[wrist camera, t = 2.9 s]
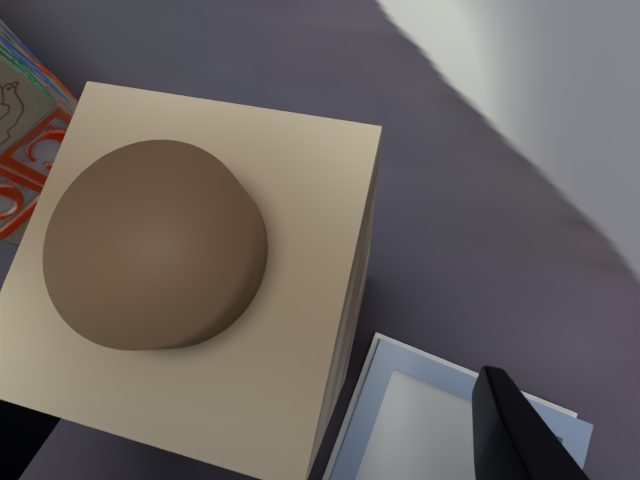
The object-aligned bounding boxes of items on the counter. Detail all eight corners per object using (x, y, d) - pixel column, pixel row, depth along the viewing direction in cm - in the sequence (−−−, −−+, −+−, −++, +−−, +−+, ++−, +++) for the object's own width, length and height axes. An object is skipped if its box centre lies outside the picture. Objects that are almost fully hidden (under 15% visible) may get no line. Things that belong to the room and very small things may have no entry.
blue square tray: (507, 626, 14) (538, 686, 12) (306, 522, 16) (296, 556, 13) (564, 408, 16) (600, 421, 13) (375, 332, 17) (377, 331, 15)
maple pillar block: (346, 376, 17) (290, 526, 3) (248, 351, 17) (-114, 396, 4) (367, 275, 18) (385, 89, 4) (273, 255, 18) (46, 42, 5)
